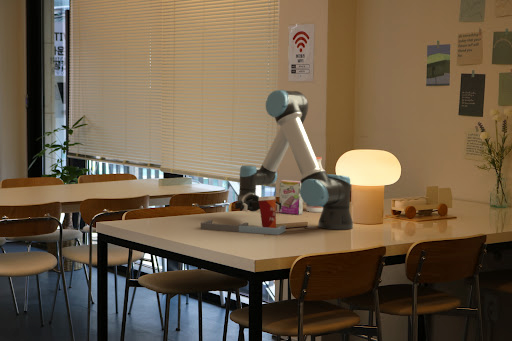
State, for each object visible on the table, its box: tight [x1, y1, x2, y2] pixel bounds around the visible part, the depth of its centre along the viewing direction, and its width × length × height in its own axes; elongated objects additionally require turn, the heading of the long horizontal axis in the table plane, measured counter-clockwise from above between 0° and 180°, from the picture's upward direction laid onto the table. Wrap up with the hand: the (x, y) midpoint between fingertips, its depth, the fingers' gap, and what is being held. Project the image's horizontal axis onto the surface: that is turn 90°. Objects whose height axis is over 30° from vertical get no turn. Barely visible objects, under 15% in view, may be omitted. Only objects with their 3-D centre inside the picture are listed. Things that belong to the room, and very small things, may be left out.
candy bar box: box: [278, 179, 304, 216], centre depth 368 cm, size 11×5×16 cm, turn 62°
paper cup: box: [258, 195, 277, 228], centre depth 311 cm, size 8×8×14 cm
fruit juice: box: [305, 156, 324, 213], centre depth 379 cm, size 9×9×28 cm
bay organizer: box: [200, 219, 286, 236], centre depth 311 cm, size 34×11×2 cm, turn 72°
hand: (262, 208), depth 309 cm, fingers open, 13 cm apart
